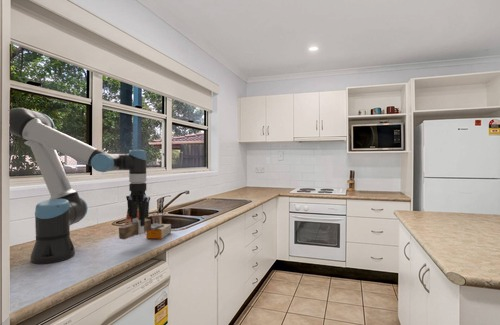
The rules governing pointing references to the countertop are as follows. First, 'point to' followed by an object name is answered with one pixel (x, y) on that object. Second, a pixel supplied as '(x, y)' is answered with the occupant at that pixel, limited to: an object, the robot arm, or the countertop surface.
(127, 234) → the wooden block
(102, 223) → the countertop surface
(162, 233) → the supplement box
